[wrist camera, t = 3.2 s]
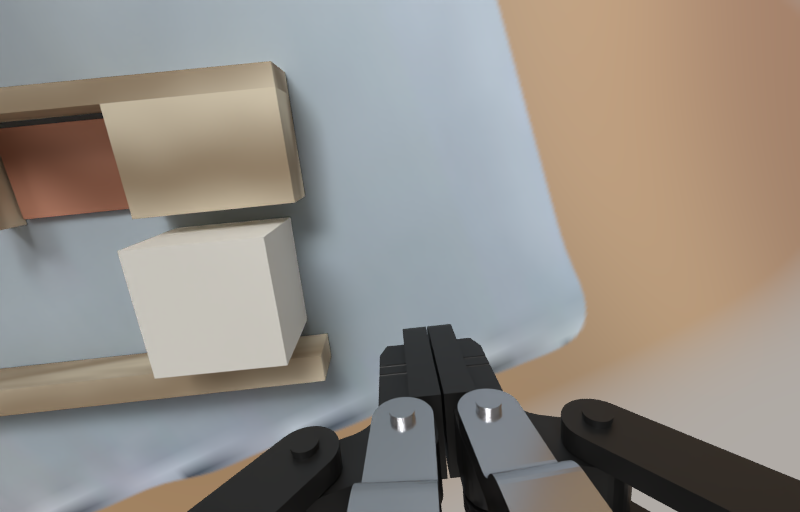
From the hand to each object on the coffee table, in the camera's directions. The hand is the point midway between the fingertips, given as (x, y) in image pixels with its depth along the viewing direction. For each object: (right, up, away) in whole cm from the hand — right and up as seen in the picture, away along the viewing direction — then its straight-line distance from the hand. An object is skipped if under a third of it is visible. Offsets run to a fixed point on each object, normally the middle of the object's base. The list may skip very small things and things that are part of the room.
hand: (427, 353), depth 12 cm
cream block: (-9, +2, +10) cm, 14 cm away
